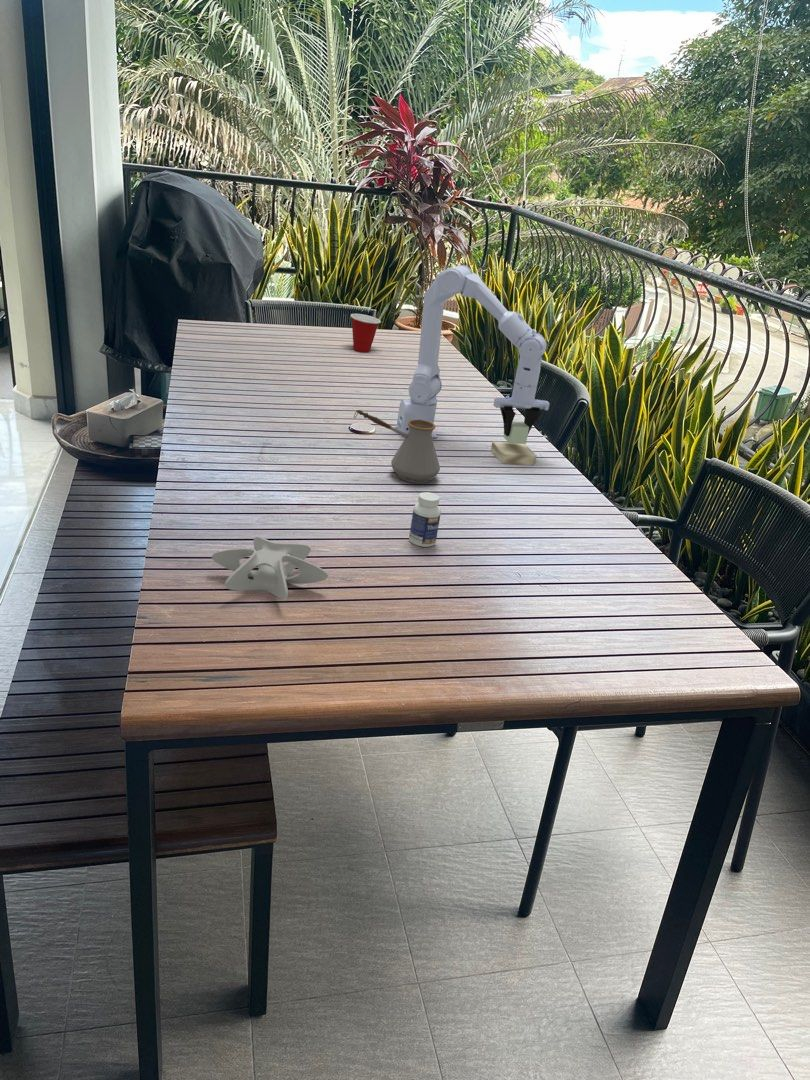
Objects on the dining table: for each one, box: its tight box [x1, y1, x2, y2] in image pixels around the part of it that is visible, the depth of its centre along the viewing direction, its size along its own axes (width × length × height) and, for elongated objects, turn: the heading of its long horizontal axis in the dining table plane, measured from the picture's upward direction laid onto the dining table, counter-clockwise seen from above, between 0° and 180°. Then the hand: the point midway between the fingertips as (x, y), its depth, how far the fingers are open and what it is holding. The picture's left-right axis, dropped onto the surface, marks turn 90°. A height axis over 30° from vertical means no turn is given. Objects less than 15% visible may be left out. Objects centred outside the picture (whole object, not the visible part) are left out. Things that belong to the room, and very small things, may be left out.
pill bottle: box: [408, 491, 442, 548], centre depth 163 cm, size 5×5×10 cm
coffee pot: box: [353, 409, 441, 484], centre depth 191 cm, size 21×12×15 cm, turn 99°
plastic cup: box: [350, 313, 382, 353], centre depth 296 cm, size 11×11×12 cm
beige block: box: [490, 441, 537, 466], centre depth 216 cm, size 9×9×3 cm
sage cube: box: [502, 420, 529, 445], centre depth 215 cm, size 4×4×4 cm
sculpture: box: [211, 536, 329, 600], centre depth 141 cm, size 18×20×6 cm
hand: (515, 435), depth 215 cm, fingers closed on sage cube, 4 cm apart
